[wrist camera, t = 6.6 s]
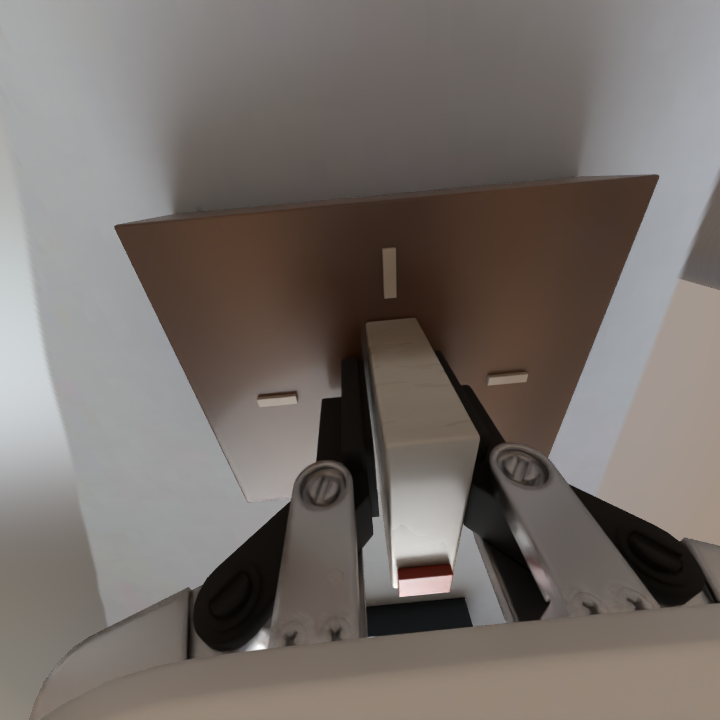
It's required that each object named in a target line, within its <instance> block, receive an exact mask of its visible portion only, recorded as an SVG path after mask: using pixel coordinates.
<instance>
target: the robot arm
mask: <svg viewBox="0 0 720 720" xmlns="http://www.w3.org/2000/svg"><path fill="white" fill-rule="evenodd" d="M434 353H435V354H436V356H437V358H438V360H439V362H440V364H441V366H442V367H443V369H444V371H445V373H446V375H447V377H448V379H449V380H450V382H451V384H452V386H453V388H454V390H455V391H456V393H457V395H458V397H459V399H460V401H461V403H462V404H463V406H464V408H465V410H466V412H467V414H468V416H469V417H470V419H471V421H472V423H473V425H474V427H475V429H476V430H477V432H478V434H479V436H480V441H479V446H478V451H477V456H476V461H475V466H474V471H473V476H472V481H471V486H470V491H469V496H468V501H467V506H466V511H465V516H464V521H463V523H464V525H465V526H466V527H467V528H469V529H470V530H472V531H473V534H474V538H475V541H476V544H477V546H478V549H479V552H480V554H481V557H482V560H483V562H484V565H485V568H486V570H487V573H488V576H489V578H490V581H491V584H492V586H493V589H494V592H495V594H496V597H497V600H498V602H499V605H500V608H501V610H502V613H503V616H504V618H505V621H506V623H505V624H495V625H485V626H475V627H466V628H456V629H446V630H436V631H426V632H417V633H407V634H397V635H388V636H379V637H369V638H368V631H367V614H366V597H365V580H364V563H363V547H364V545H365V544H366V543H367V542H368V540H369V539H370V538H371V537H372V535H373V524H372V517H379V507H378V494H377V481H376V468H375V455H374V444H373V435H372V427H371V419H370V411H369V403H368V395H367V387H366V379H365V370H364V362H357V358H351V359H342V360H341V397H333V398H323V399H322V402H321V413H320V424H319V435H318V446H317V457H316V462H315V463H313V464H311V465H309V466H307V467H306V468H305V469H304V470H302V471H301V472H300V474H299V475H298V477H297V478H296V480H295V483H294V486H293V490H292V496H291V501H290V502H289V503H288V504H287V505H286V506H285V507H283V508H282V509H281V510H280V511H279V512H278V513H277V514H276V515H275V516H273V517H272V518H271V519H270V520H269V521H268V522H267V523H266V524H265V525H264V526H262V527H261V528H260V529H259V530H258V531H257V532H256V533H255V534H254V535H253V536H251V537H250V538H249V539H248V540H247V541H246V542H245V543H244V544H243V545H241V546H240V547H239V548H238V549H237V550H236V551H235V552H234V553H233V554H232V555H230V556H229V557H228V558H227V559H226V560H225V561H224V562H223V563H222V564H220V565H219V566H218V567H217V568H216V569H215V570H214V571H213V572H212V574H211V575H210V576H209V577H208V578H207V579H206V581H205V582H204V584H203V585H201V586H199V587H197V588H195V589H193V590H191V589H190V588H189V587H188V588H186V589H184V590H182V591H180V592H178V593H176V594H174V595H172V596H170V597H168V598H166V599H164V600H162V601H160V602H158V603H156V604H154V605H152V606H150V607H148V608H146V609H144V610H142V611H140V612H138V613H136V614H134V615H132V616H130V617H128V618H126V619H124V620H122V621H120V622H118V623H116V624H114V625H112V626H110V627H108V628H106V629H104V630H102V631H100V632H98V633H96V634H94V635H92V636H90V637H88V638H87V639H85V640H84V641H82V642H81V643H79V644H78V645H76V646H75V647H73V648H72V649H71V650H70V651H69V652H68V653H67V654H66V655H65V656H64V657H63V658H62V659H61V660H60V661H59V662H58V663H57V665H56V666H55V667H54V669H53V670H52V671H51V673H50V674H49V676H48V677H47V678H46V680H45V681H44V683H43V685H42V688H41V689H40V692H39V694H38V696H37V698H36V700H35V703H34V706H33V709H32V712H31V715H30V718H29V720H720V546H718V545H714V544H709V543H706V542H701V541H697V540H693V539H688V538H684V539H682V540H681V541H678V540H677V539H675V538H674V537H673V536H671V535H670V534H669V533H667V532H666V531H664V530H662V529H660V528H659V527H657V526H655V525H653V524H651V523H649V522H647V521H645V520H643V519H640V518H638V517H636V516H634V515H632V514H630V513H628V512H626V511H624V510H622V509H620V508H618V507H615V506H613V505H611V504H609V503H607V502H605V501H603V500H601V499H599V498H597V497H594V496H592V495H590V494H588V493H586V492H584V491H582V490H580V489H578V488H576V487H573V486H571V485H569V484H568V483H567V482H566V481H565V479H564V478H563V477H562V475H561V474H560V473H559V471H558V470H557V469H556V467H555V466H554V465H553V463H552V462H551V461H550V460H549V459H548V458H547V457H546V456H545V455H544V454H543V453H541V452H540V451H538V450H537V449H535V448H533V447H530V446H528V445H526V444H521V443H517V442H505V440H504V438H503V437H502V435H501V434H500V432H499V431H498V429H497V427H496V426H495V424H494V423H493V421H492V420H491V418H490V416H489V415H488V413H487V412H486V410H485V408H484V407H483V405H482V404H481V402H480V401H479V399H478V397H477V396H476V394H475V393H474V391H473V390H472V388H471V387H470V386H469V385H461V384H460V383H459V381H458V379H457V378H456V376H455V374H454V373H453V371H452V369H451V367H450V366H449V364H448V362H447V361H446V359H445V357H444V356H443V354H442V352H441V351H440V350H435V351H434Z"/></svg>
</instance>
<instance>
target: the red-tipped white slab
mask: <svg viewBox="0 0 720 720" xmlns="http://www.w3.org/2000/svg"><path fill="white" fill-rule="evenodd" d="M365 326H366V339H367V353H368V366H369V379H370V393H371V406H372V419H373V433H374V445H375V454H376V462H377V470H378V478H379V487H380V495H381V503H382V511H383V520H384V528H385V536H386V544H387V553H388V561H389V569H390V578H391V585H392V587H393V588H398V593H399V597H404V596H414V595H425V594H435V593H446V592H450V588H451V583H452V578H453V571H454V566H455V561H456V556H457V551H458V546H459V541H460V536H461V531H462V526H463V521H464V516H465V511H466V506H467V501H468V496H469V491H470V486H471V481H472V476H473V471H474V466H475V461H476V456H477V451H478V446H479V441H480V436H479V434H478V432H477V430H476V429H475V427H474V425H473V423H472V421H471V419H470V417H469V416H468V414H467V412H466V410H465V408H464V406H463V404H462V403H461V401H460V399H459V397H458V395H457V393H456V391H455V390H454V388H453V386H452V384H451V382H450V380H449V379H448V377H447V375H446V373H445V371H444V369H443V367H442V366H441V364H440V362H439V360H438V358H437V356H436V354H435V353H434V351H433V349H432V347H431V345H430V343H429V341H428V340H427V338H426V336H425V334H424V332H423V330H422V329H421V327H420V325H419V323H418V321H417V319H416V318H406V319H395V320H385V321H374V322H367V323H366V325H365Z"/></svg>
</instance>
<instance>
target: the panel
mask: <svg viewBox="0 0 720 720" xmlns="http://www.w3.org/2000/svg"><path fill="white" fill-rule="evenodd" d="M658 179H659V175H657V174H653V175H616V176H579V177H568V178H557V179H546V180H536V181H525V182H514V183H504V184H493V185H482V186H471V187H461V188H450V189H439V190H429V191H418V192H407V193H396V194H386V195H375V196H364V197H354V198H343V199H332V200H321V201H311V202H300V203H289V204H278V205H268V206H257V207H246V208H236V209H225V210H214V211H203V212H193V213H182V214H172V215H167V216H161V217H156V218H151V219H145V220H140V221H134V222H129V223H124V224H118V225H116V226H114V227H115V230H116V232H117V234H118V236H119V238H120V240H121V242H122V245H123V247H124V249H125V251H126V253H127V255H128V257H129V259H130V261H131V263H132V265H133V267H134V269H135V271H136V273H137V275H138V278H139V280H140V282H141V284H142V286H143V288H144V290H145V292H146V294H147V296H148V298H149V300H150V302H151V304H152V306H153V308H154V311H155V313H156V315H157V317H158V319H159V321H160V323H161V325H162V327H163V329H164V331H165V333H166V335H167V337H168V339H169V341H170V343H171V346H172V348H173V350H174V352H175V354H176V356H177V358H178V360H179V362H180V364H181V366H182V368H183V370H184V372H185V374H186V376H187V379H188V381H189V383H190V385H191V387H192V389H193V391H194V393H195V395H196V397H197V399H198V401H199V403H200V405H201V407H202V409H203V411H204V414H205V416H206V418H207V420H208V422H209V424H210V426H211V428H212V430H213V432H214V434H215V436H216V438H217V440H218V442H219V444H220V447H221V449H222V451H223V453H224V455H225V457H226V459H227V461H228V463H229V465H230V467H231V469H232V471H233V473H234V475H235V477H236V480H237V482H238V484H239V486H240V488H241V490H242V492H243V494H244V496H245V498H246V500H247V502H257V501H267V500H278V499H288V498H291V496H292V490H293V486H294V483H295V480H296V478H297V477H298V475H299V474H300V472H301V471H302V470H304V469H305V468H306V467H307V466H309V465H311V464H313V463H315V462H316V457H317V446H318V435H319V424H320V413H321V402H322V399H323V398H333V397H341V360H342V359H351V358H357V362H364V370H365V379H366V387H367V395H368V403H369V411H370V419H371V427H372V435H373V444H374V433H373V419H372V406H371V393H370V379H369V366H368V353H367V339H366V326H365V325H366V323H367V322H374V321H385V320H395V319H406V318H416V319H417V321H418V323H419V325H420V327H421V329H422V330H423V332H424V334H425V336H426V338H427V340H428V341H429V343H430V345H431V347H432V349H433V351H435V350H440V351H441V352H442V354H443V356H444V357H445V359H446V361H447V362H448V364H449V366H450V367H451V369H452V371H453V373H454V374H455V376H456V378H457V379H458V381H459V383H460V384H461V385H469V386H470V387H471V388H472V390H473V391H474V393H475V394H476V396H477V397H478V399H479V401H480V402H481V404H482V405H483V407H484V408H485V410H486V412H487V413H488V415H489V416H490V418H491V420H492V421H493V423H494V424H495V426H496V427H497V429H498V431H499V432H500V434H501V435H502V437H503V438H504V440H505V442H517V443H521V444H526V445H528V446H530V447H533V448H535V449H537V450H538V451H540V452H541V453H543V454H544V455H545V456H546V457H547V458H548V456H549V454H550V451H551V449H552V446H553V444H554V441H555V439H556V436H557V434H558V431H559V429H560V426H561V424H562V421H563V419H564V416H565V414H566V411H567V409H568V406H569V403H570V401H571V398H572V396H573V393H574V391H575V388H576V386H577V383H578V381H579V378H580V376H581V373H582V371H583V368H584V366H585V363H586V361H587V358H588V356H589V353H590V351H591V348H592V345H593V343H594V340H595V338H596V335H597V333H598V330H599V328H600V325H601V323H602V320H603V318H604V315H605V313H606V310H607V308H608V305H609V303H610V300H611V298H612V295H613V293H614V290H615V287H616V285H617V282H618V280H619V277H620V275H621V272H622V270H623V267H624V265H625V262H626V260H627V257H628V255H629V252H630V250H631V247H632V245H633V242H634V240H635V237H636V235H637V232H638V229H639V227H640V224H641V222H642V219H643V217H644V214H645V212H646V209H647V207H648V204H649V202H650V199H651V197H652V194H653V192H654V189H655V187H656V184H657V182H658ZM374 455H375V468H376V481H377V490H380V487H379V478H378V470H377V462H376V454H375V445H374Z"/></svg>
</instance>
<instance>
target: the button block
mask: <svg viewBox="0 0 720 720" xmlns="http://www.w3.org/2000/svg"><path fill="white" fill-rule="evenodd" d="M366 614H367V631H368V638H369V637H379V636H388V635H397V634H407V633H417V632H426V631H436V630H446V629H456V628H466V627H473V625H472V622H471V618H470V615H469V612H468V608H467V605H466V601H465V598H458V599H448V600H437V601H427V602H416V603H406V604H396V605H385V606H375V607H366Z"/></svg>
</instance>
